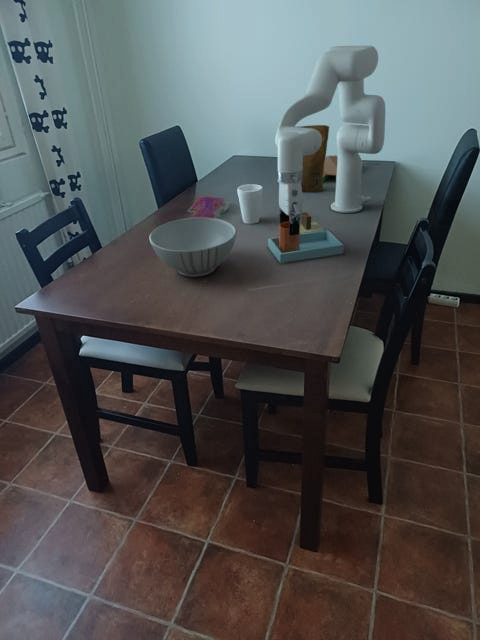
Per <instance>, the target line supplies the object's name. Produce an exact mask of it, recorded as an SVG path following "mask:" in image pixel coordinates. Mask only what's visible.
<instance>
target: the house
mask: <svg viewBox="0 0 480 640" xmlns="http://www.w3.org/2000/svg"><path fill="white" fill-rule="evenodd" d="M337 159H338V155H326V157H325V161H324V172H323V178H322V182H325V181H327V180H328V179H329V178H330V179H331V178H332V179H334V176H337Z"/></svg>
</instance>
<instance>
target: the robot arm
mask: <svg viewBox="0 0 480 640" xmlns="http://www.w3.org/2000/svg"><path fill="white" fill-rule="evenodd" d="M378 63H379V53H378V51H377V48H376V46H373V45H335V46H331V47H329V48H327V49H326V51H324V52H322V53H321V54H320V56H319V58H318V59H317V62H316V64H315V66H314V69H313V72H312V74H311V78H310V79H309V82H308V85H307V88H306V91H305V93H304V94H302V95H301V96H300V97H299V98H297V100H295V101H294V102H293V103H292V104H291V105H290V106H289V107H288V108H287V109H286V110H285V111H284V112H283V114H282V116H281V119H280V121H279V124H278V126H277V129H276V133H275V139H274V143H275V146H276V148H277V182H278V183H279V185H278V206H279V224H280V223H283V222H288V221H290V223H289V235H298V234H299V224H301V223H300V222H301V216H302V213H303V192H302V187H301V182H302V168H303V156H305V155H311V154H314V153H316V152H317V151H318V150H319V148H320V147H321V144H322V136H321V134H320V132H319V131H317V130H316V129H312V128H302V127H301V126H296V125H297V124H298V123H299V122H300V121H302V120H303V119H305V118H307V117H309V116H311V115H315V114H317V113H319V112H321V111H324V110H327V108H329V107H330V106H331V104H332V101H333V98H334V96H335V93H336V91H337V88H338V104H339V106H338V107H339V117H340V120H341V121H342V122H344V123H346V124H345V125H342V126H340V128H338V130H337V132H336V137H335V142H336V151H337V156H338V159H337V175H336V176H335V197H334V201H333V202H332V203H331V204H330V209H331V210H332V211H333V212H337V213H342V214H352V213H353V214H354V213H357V212H361V211H362V210H363V207H364V206H363V204H364V203H369V202H371V200H372V198H371V196H365V195H361V187H362V185H361V184H362V173H363V161H362V160H363V159H362V157H361V156H360V154H367V155H370V154H371V155H376V154H379V153H380V152H381V151H382V150H383V147H384V143H385V136H386V135H385V131H386V102H385V100H384V98H383V97H382V96H381V95H377V94H366V93H365V79H367V78H368V77H370V76H371V75H372V74H373V73H374V72H375V71H376V69H377V66H378ZM347 123H348V124H347Z"/></svg>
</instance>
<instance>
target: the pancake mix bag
mask: <svg viewBox="0 0 480 640" xmlns="http://www.w3.org/2000/svg"><path fill="white" fill-rule="evenodd" d="M300 127H302V128H312V129H316V130H317V131H319V132H320V134H321V136H322V144H321V147H320V148H319V150H318V151H317V152H316V153H314V154H311V155H305V156H303V168H302V182H301V187H302V193H321V192H323V191H324V184H323V180H322V179H323V172H324V161H325V157H326V156H327V148H328V141H329V133H330V126H328V125H326V124H314V125H311V124H310V125H303V126H302V125H301V126H300Z"/></svg>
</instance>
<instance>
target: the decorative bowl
mask: <svg viewBox="0 0 480 640" xmlns="http://www.w3.org/2000/svg"><path fill="white" fill-rule="evenodd" d="M237 233H238V232H237V228H236V226H235V225H234V224H233V223H231V222H230V221H227V220H224V219H221V218H218V219H216V218H213V217H212V218H211V217H209V218H206V217H201V216H200V217H197V218H191V217H187V218H180V219H176V220H172V221H168V222H166V223H164V224H161V225H159V226H158V227H156V228H155V229H153V230H152V231H151V232H150V234H149V239H148V240H149V243H150V245H151V247H152V250H153V251H154V252H155V254H156V255H157V257H158V258H159V259H160V260H161V261H162V262H163V263H164V264H165V265H166V266H168V268H170V269H172V270H175V271H177V272H178V273H179V274H180V275H182V276H185V277H189V278H191V277H192V278H197V277H203V276H207V275H209V274H211V273H213V272H214V271H215V270H216V268H217V267H218V266H220V265H221V264H222V263H223V262H224V261H225V260H226V259H227V258H228V256H229V255H230V253H231V251H232V249H233V248H234V244H235V241H236V238H237Z"/></svg>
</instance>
